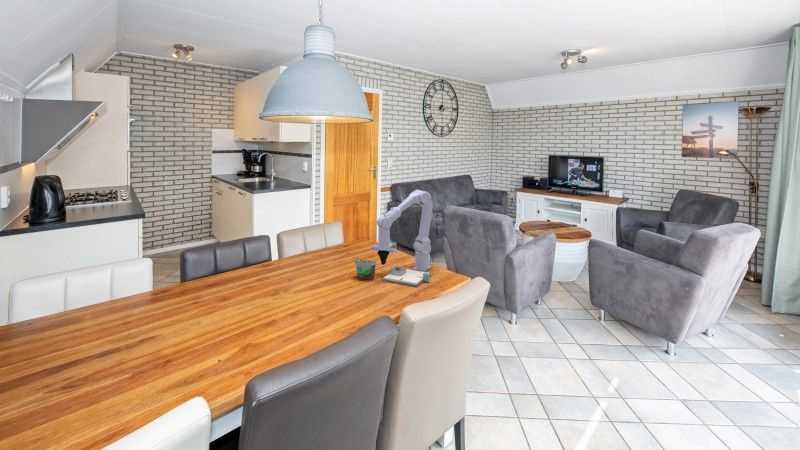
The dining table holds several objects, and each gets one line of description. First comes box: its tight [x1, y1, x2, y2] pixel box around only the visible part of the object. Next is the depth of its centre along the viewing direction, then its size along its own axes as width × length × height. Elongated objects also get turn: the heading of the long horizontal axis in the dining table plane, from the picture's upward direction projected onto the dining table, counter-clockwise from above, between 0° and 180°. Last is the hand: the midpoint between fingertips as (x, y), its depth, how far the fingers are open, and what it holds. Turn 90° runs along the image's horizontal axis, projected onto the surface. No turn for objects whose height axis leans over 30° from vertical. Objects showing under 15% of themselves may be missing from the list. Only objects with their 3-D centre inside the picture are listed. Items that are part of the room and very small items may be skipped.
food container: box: [354, 257, 377, 281], centre depth 210 cm, size 12×6×10 cm, turn 62°
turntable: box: [383, 268, 431, 285], centre depth 211 cm, size 18×21×4 cm
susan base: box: [382, 274, 432, 288], centre depth 212 cm, size 19×19×1 cm
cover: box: [389, 265, 407, 276], centre depth 214 cm, size 6×6×4 cm
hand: (383, 264), depth 217 cm, fingers closed
